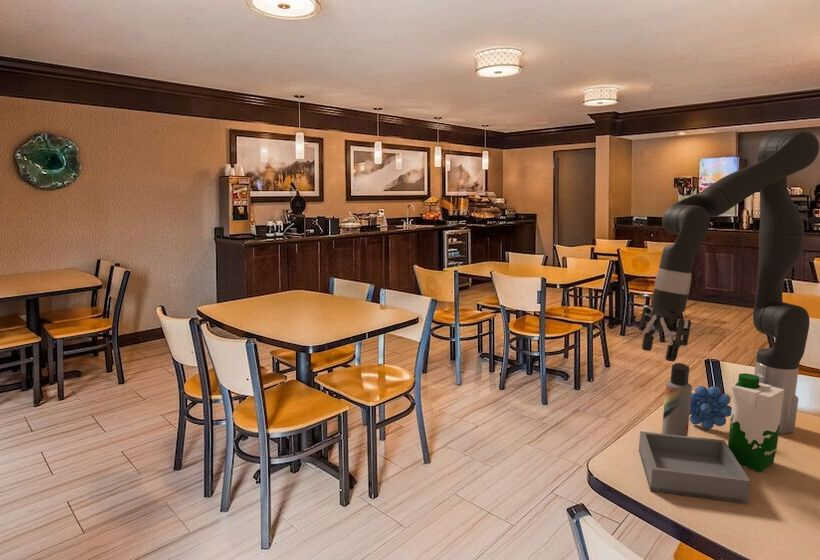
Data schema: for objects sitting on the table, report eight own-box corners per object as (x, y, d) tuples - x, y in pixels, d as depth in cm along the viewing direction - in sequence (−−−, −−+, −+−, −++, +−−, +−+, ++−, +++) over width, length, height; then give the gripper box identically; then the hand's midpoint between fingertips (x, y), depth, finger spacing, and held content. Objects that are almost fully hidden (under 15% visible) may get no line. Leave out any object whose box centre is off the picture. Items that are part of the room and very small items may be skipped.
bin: (722, 460, 126) (724, 440, 125) (747, 504, 109) (750, 481, 108) (638, 450, 131) (640, 431, 130) (650, 491, 113) (652, 469, 113)
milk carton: (737, 448, 131) (746, 369, 128) (780, 464, 124) (790, 380, 121) (720, 459, 126) (729, 377, 123) (763, 476, 119) (774, 389, 116)
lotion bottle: (684, 438, 137) (691, 362, 133) (688, 449, 131) (695, 369, 128) (660, 435, 138) (666, 360, 135) (662, 445, 133) (669, 367, 130)
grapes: (736, 431, 141) (741, 387, 139) (726, 439, 136) (731, 393, 134) (689, 417, 149) (693, 375, 147) (678, 424, 145) (682, 381, 143)
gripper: (707, 296, 123) (692, 365, 125) (664, 285, 137) (651, 347, 139) (679, 294, 121) (664, 363, 123) (638, 282, 135) (626, 345, 137)
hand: (657, 355), depth 131 cm, fingers open, 8 cm apart
